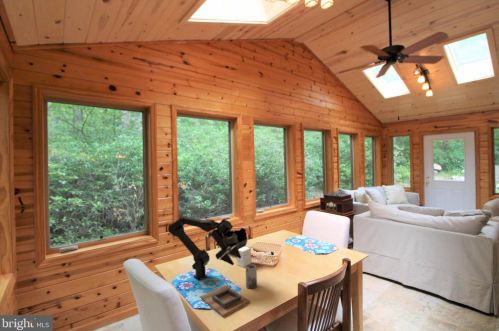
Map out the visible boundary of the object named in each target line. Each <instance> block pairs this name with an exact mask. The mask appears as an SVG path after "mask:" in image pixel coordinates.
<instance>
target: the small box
mask: <svg viewBox="0 0 499 331" xmlns="http://www.w3.org/2000/svg"><path fill="white" fill-rule="evenodd" d="M238 250H239V253H240V256H241V258H240V259H239V258H238V257H237V256H236V258H237V259H236V262H237V266H238V267H241V268H246V265H249V264H252V249H251V247H248V246H244V247H242V248H240V249H238Z"/></svg>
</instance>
